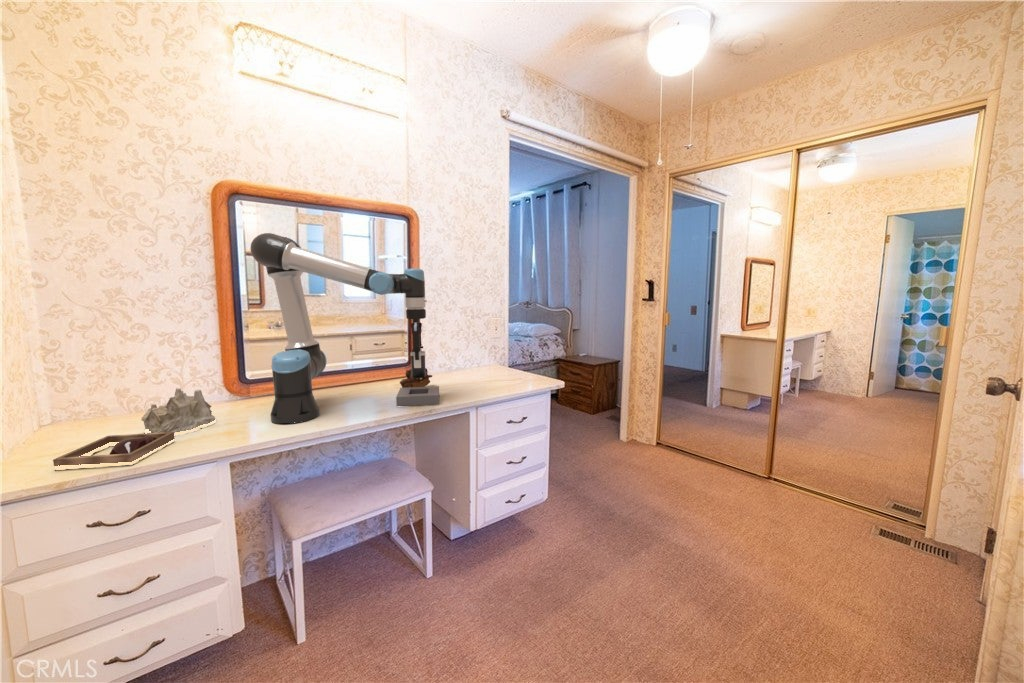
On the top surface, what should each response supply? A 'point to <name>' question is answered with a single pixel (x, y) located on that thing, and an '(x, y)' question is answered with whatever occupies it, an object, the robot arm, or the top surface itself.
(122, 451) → the heart ornament
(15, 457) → the top surface
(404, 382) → the wooden carving
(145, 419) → the ceramic cottage
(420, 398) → the grey recessed frame block
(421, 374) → the lens
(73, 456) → the frame
